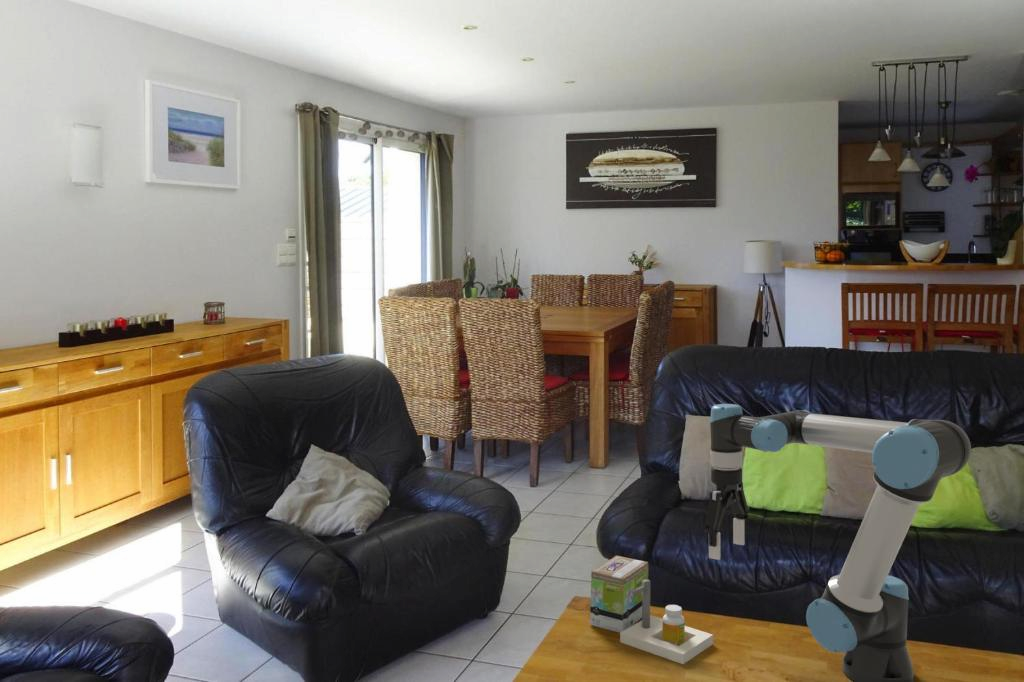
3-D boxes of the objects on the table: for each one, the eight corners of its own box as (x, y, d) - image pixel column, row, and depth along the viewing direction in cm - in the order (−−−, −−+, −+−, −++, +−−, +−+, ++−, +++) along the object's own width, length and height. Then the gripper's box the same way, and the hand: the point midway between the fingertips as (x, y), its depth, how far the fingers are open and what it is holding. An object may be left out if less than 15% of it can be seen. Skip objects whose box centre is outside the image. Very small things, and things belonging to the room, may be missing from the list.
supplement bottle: (682, 652, 214) (682, 613, 213) (660, 648, 216) (660, 610, 215) (686, 642, 219) (686, 605, 218) (664, 639, 221) (665, 602, 220)
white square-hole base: (712, 644, 218) (713, 587, 217) (683, 664, 208) (683, 605, 206) (651, 624, 230) (651, 570, 229) (620, 642, 220) (620, 586, 218)
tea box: (624, 634, 224) (624, 578, 223) (589, 625, 230) (589, 570, 228) (648, 613, 237) (649, 560, 235) (614, 605, 242) (615, 553, 241)
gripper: (734, 456, 229) (734, 536, 231) (688, 475, 210) (689, 562, 212) (761, 459, 225) (762, 541, 226) (717, 479, 205) (718, 568, 207)
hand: (727, 551), depth 219 cm, fingers open, 13 cm apart
